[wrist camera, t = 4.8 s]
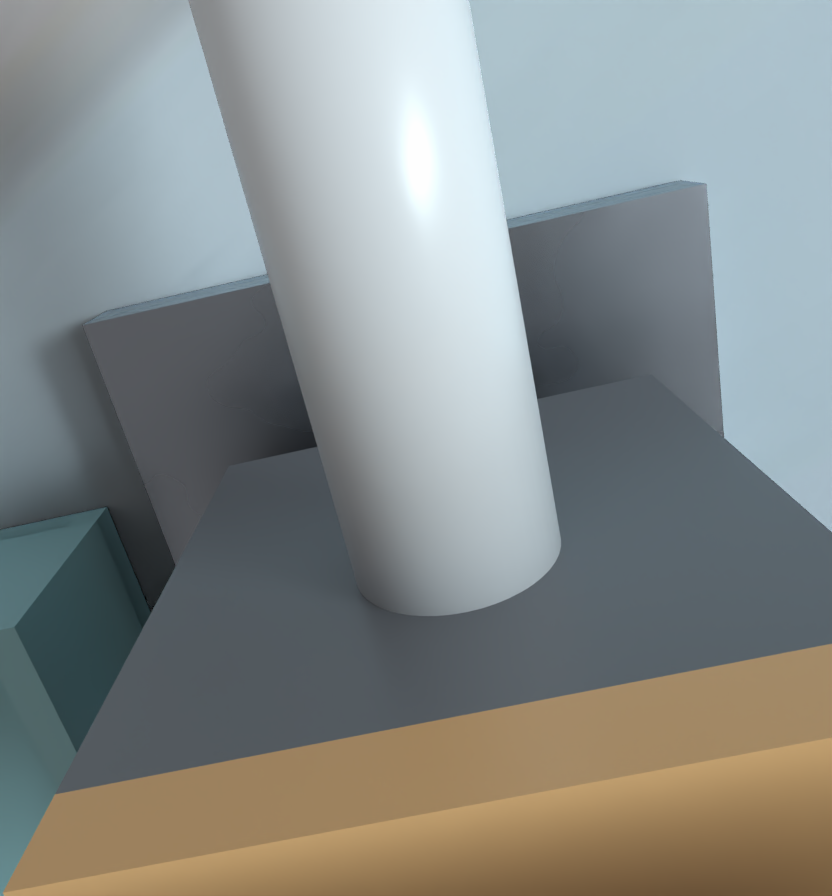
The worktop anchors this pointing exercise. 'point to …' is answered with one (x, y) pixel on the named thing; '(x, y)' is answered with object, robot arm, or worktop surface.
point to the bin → (56, 656)
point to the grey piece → (545, 319)
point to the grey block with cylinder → (448, 559)
